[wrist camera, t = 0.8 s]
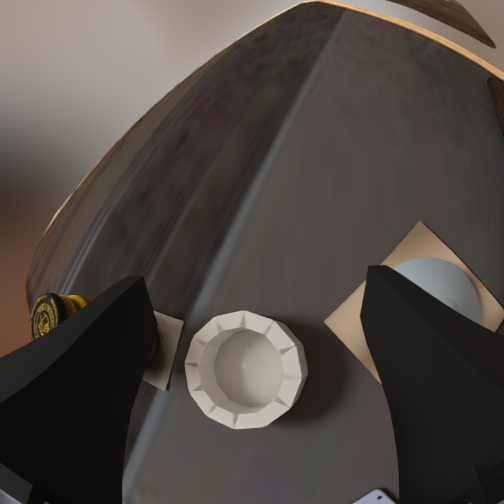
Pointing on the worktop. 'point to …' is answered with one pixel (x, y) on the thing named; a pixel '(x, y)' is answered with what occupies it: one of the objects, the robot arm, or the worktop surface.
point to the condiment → (62, 307)
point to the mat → (412, 246)
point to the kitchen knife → (497, 97)
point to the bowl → (245, 369)
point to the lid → (443, 284)
